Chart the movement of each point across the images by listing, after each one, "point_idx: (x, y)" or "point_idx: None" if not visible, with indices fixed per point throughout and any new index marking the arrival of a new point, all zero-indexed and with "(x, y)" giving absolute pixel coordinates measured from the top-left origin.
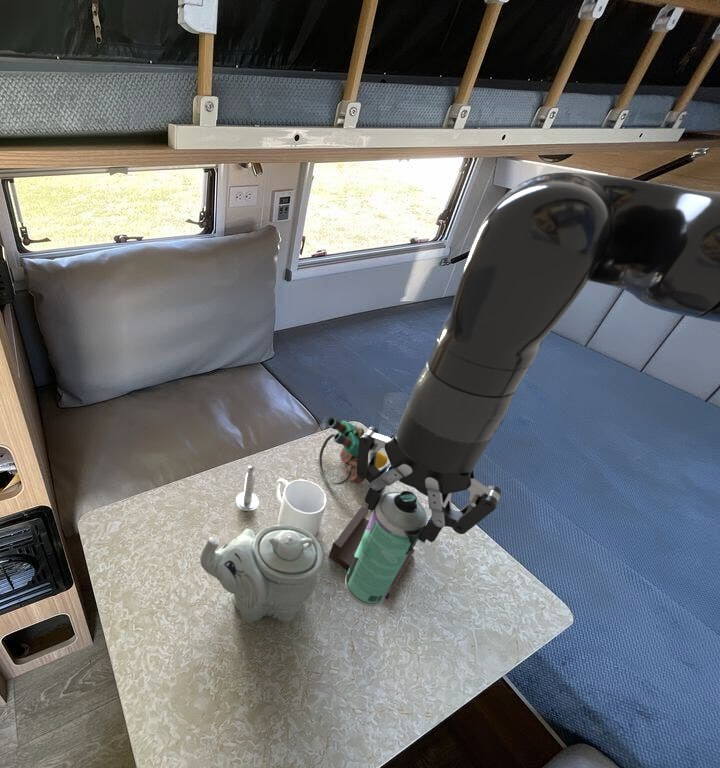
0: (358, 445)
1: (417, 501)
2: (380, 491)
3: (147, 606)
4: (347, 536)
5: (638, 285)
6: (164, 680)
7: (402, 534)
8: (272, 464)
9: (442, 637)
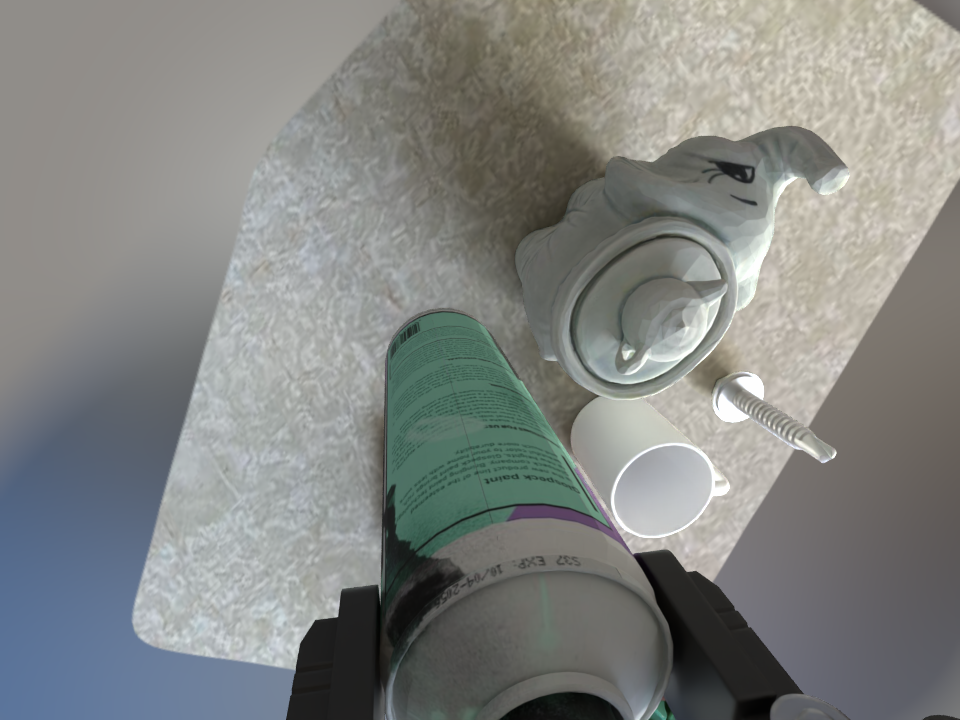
0: None
1: None
2: (738, 716)
3: (777, 36)
4: None
5: None
6: None
7: (459, 547)
8: (732, 515)
9: (274, 443)
